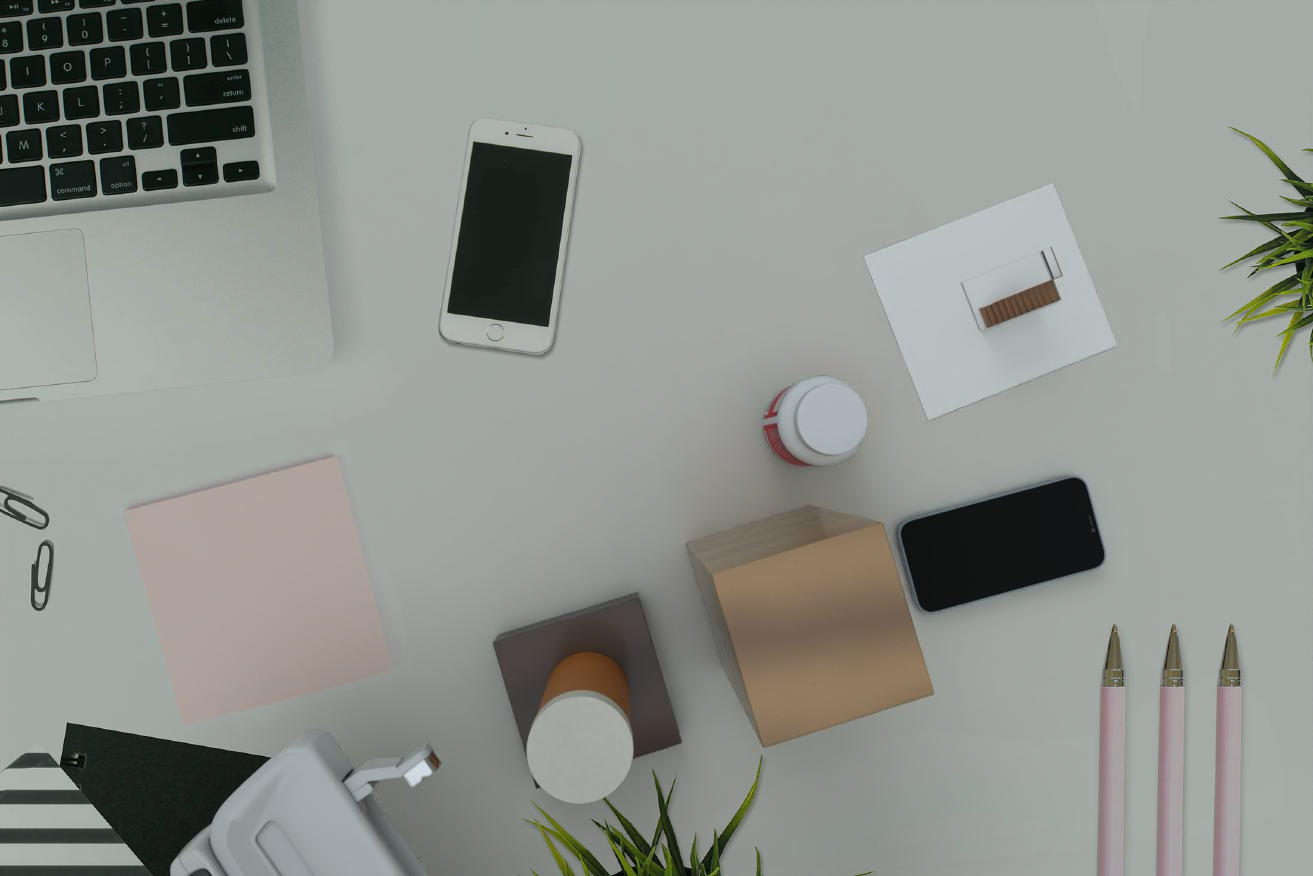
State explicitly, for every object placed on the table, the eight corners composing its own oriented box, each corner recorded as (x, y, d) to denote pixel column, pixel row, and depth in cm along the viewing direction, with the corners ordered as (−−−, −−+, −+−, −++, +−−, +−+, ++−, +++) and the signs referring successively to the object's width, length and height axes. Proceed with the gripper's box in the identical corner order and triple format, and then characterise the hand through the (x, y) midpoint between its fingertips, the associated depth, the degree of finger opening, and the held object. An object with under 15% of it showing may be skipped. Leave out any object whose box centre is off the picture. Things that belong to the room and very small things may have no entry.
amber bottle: (640, 722, 69) (646, 785, 56) (558, 747, 69) (543, 817, 55) (616, 639, 69) (616, 683, 56) (534, 664, 69) (513, 714, 56)
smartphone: (895, 522, 73) (1084, 471, 73) (891, 521, 73) (1078, 471, 74) (920, 617, 72) (1109, 566, 73) (917, 615, 73) (1103, 564, 74)
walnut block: (679, 731, 72) (682, 743, 69) (539, 775, 72) (535, 789, 69) (637, 591, 73) (638, 597, 70) (497, 634, 72) (492, 642, 69)
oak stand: (848, 630, 73) (935, 694, 53) (723, 669, 73) (763, 748, 53) (810, 504, 73) (883, 521, 53) (685, 542, 73) (710, 574, 53)
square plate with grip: (1052, 182, 75) (1087, 160, 69) (1117, 345, 74) (1157, 336, 69) (863, 256, 74) (883, 239, 68) (928, 420, 74) (953, 417, 68)
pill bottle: (836, 469, 73) (875, 471, 62) (757, 462, 73) (781, 462, 62) (843, 389, 74) (883, 376, 62) (764, 381, 73) (790, 367, 62)
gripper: (368, 1154, 52) (579, 1001, 52) (152, 841, 52) (366, 692, 52) (395, 1079, 58) (584, 943, 59) (203, 800, 58) (394, 667, 59)
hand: (480, 822), depth 55 cm, fingers open, 8 cm apart
